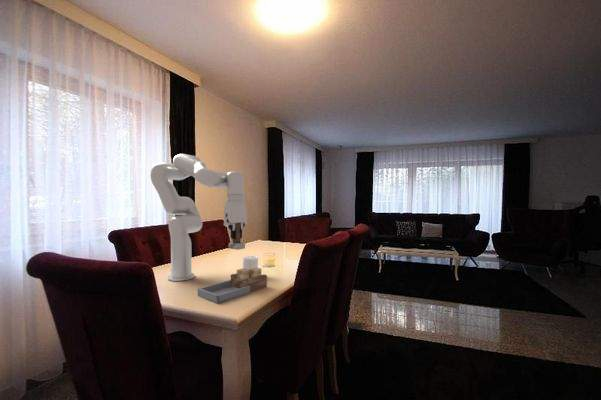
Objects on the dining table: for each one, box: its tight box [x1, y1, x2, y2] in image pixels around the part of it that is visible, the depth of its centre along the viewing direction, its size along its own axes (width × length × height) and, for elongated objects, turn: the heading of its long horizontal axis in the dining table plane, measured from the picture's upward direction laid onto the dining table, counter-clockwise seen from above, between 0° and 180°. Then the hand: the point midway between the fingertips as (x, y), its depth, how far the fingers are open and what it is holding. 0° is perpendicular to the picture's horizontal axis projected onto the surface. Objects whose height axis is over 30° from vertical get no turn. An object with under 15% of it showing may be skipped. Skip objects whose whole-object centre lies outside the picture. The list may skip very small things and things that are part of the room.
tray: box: [197, 279, 251, 305], centre depth 119 cm, size 14×16×3 cm
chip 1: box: [236, 267, 249, 280], centre depth 128 cm, size 4×4×4 cm
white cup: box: [242, 255, 259, 269], centre depth 145 cm, size 8×8×10 cm
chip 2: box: [249, 267, 262, 278], centre depth 130 cm, size 4×4×4 cm
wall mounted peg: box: [228, 223, 246, 250], centre depth 131 cm, size 7×4×12 cm, turn 48°
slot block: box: [230, 272, 268, 294], centre depth 129 cm, size 13×10×6 cm
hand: (236, 238), depth 131 cm, fingers closed on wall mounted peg, 2 cm apart
